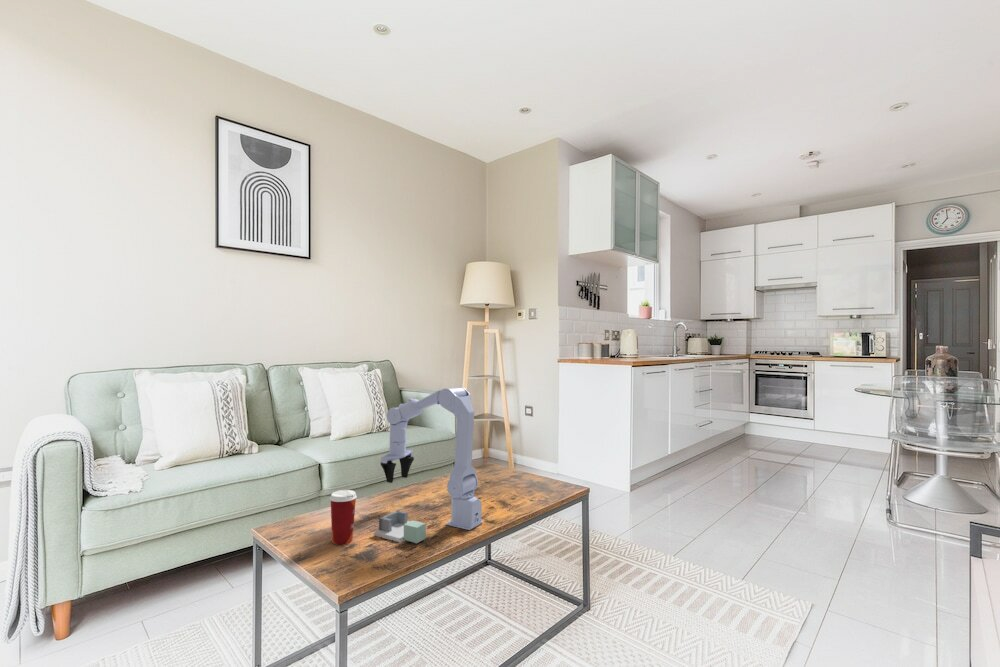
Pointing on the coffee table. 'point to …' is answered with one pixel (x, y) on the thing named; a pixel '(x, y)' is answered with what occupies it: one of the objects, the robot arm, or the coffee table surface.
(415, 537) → the pale green block
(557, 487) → the coffee table surface
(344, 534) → the paper cup
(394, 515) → the dock
